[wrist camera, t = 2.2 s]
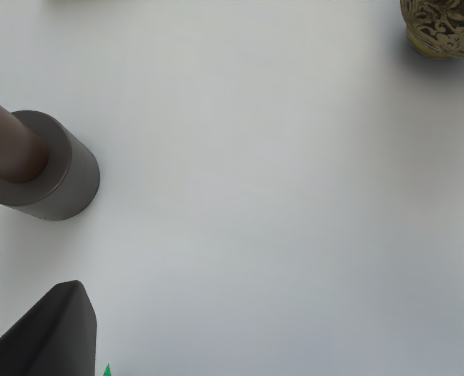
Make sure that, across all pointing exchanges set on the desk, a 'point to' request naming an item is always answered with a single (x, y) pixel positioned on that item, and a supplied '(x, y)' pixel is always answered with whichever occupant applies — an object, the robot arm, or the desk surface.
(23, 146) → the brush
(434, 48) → the cup
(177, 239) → the desk surface
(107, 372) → the knife
